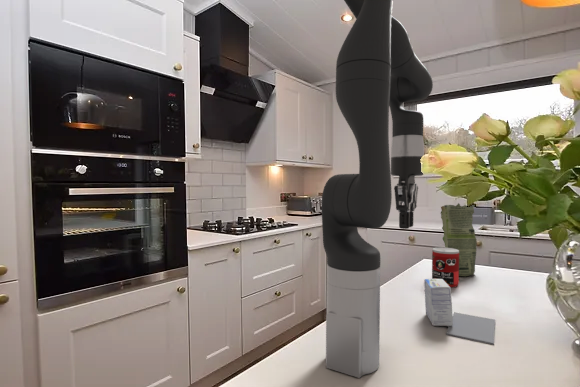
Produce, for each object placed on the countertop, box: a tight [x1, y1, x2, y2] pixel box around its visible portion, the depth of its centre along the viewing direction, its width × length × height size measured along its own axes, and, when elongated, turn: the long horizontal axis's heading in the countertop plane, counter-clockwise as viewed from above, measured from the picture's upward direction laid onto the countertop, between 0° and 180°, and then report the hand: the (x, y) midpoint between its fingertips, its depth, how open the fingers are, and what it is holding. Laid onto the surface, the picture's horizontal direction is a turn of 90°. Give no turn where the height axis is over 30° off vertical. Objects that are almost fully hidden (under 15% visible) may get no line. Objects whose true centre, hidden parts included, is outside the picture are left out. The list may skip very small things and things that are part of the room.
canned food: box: [431, 246, 460, 288], centre depth 109 cm, size 8×8×11 cm
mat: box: [445, 311, 496, 346], centre depth 76 cm, size 14×9×1 cm, turn 148°
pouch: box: [440, 202, 478, 277], centre depth 122 cm, size 11×12×25 cm
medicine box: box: [423, 278, 453, 327], centre depth 80 cm, size 8×4×9 cm, turn 168°
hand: (406, 227), depth 83 cm, fingers open, 3 cm apart
